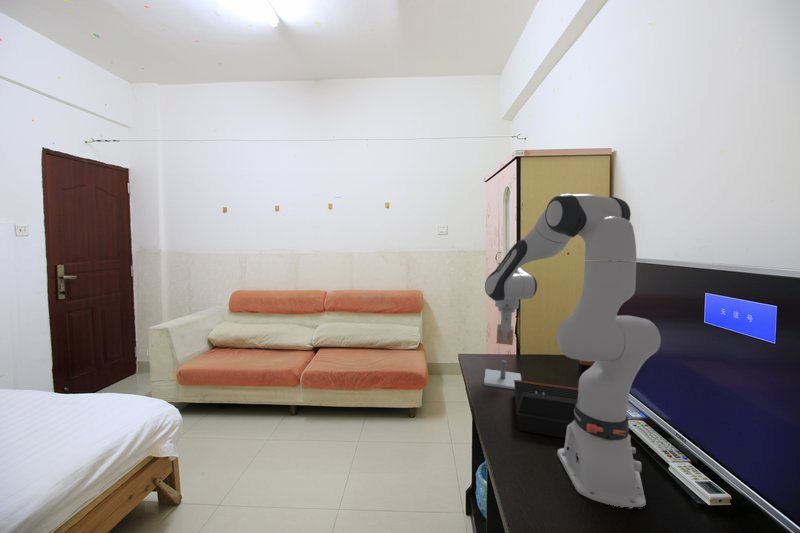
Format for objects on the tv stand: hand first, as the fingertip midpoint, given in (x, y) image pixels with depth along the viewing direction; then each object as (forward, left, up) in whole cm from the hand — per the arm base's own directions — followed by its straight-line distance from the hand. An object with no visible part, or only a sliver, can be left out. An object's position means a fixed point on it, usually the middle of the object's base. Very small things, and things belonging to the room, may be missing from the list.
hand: (504, 336), depth 138 cm
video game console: (-23, -18, -19) cm, 35 cm away
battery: (+16, -34, -18) cm, 42 cm away
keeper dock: (0, 0, -18) cm, 18 cm away
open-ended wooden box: (0, 0, -2) cm, 2 cm away
